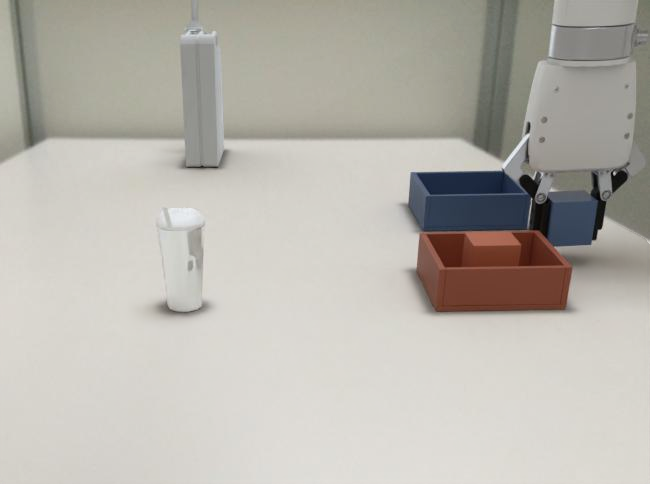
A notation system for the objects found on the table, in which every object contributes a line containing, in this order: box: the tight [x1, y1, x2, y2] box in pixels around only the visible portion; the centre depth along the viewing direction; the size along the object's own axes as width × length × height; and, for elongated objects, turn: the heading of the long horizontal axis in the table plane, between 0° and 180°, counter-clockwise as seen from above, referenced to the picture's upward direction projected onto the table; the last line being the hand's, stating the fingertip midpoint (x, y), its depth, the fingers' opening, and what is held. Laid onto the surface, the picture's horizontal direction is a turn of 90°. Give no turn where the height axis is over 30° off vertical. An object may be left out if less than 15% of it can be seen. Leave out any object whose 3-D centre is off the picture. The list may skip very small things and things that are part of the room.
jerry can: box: [179, 0, 225, 168], centre depth 143 cm, size 15×5×25 cm, turn 177°
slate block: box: [547, 189, 598, 248], centre depth 101 cm, size 4×4×4 cm
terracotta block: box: [461, 231, 521, 267], centre depth 94 cm, size 4×4×4 cm
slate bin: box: [407, 170, 532, 232], centre depth 117 cm, size 12×12×4 cm
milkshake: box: [155, 207, 206, 313], centre depth 90 cm, size 4×5×10 cm
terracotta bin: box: [415, 230, 573, 312], centre depth 95 cm, size 12×12×4 cm
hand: (564, 236), depth 102 cm, fingers closed on slate block, 4 cm apart
